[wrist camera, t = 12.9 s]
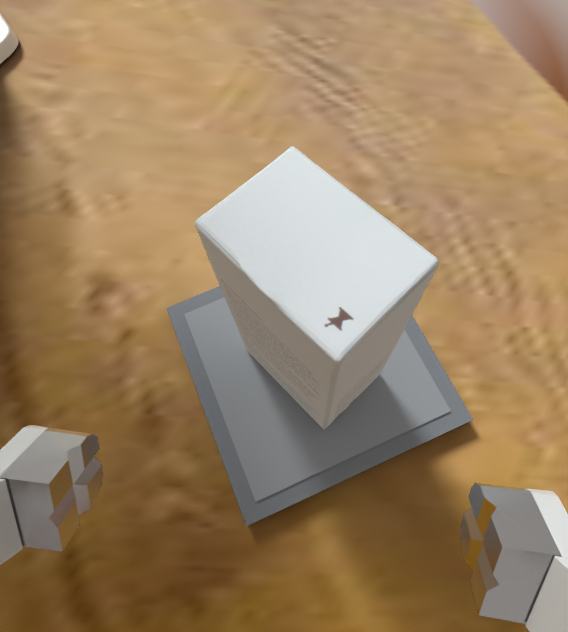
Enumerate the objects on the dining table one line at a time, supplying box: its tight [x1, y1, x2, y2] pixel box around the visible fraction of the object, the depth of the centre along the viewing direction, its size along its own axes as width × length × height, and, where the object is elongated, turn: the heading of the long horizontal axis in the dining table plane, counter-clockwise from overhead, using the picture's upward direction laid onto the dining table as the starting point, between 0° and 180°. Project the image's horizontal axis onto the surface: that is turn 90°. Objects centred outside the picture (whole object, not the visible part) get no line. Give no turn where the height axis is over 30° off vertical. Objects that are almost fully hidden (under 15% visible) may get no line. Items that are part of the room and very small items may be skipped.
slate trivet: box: [167, 286, 473, 526], centre depth 24 cm, size 12×12×1 cm
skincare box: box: [195, 146, 439, 429], centre depth 18 cm, size 6×4×12 cm
